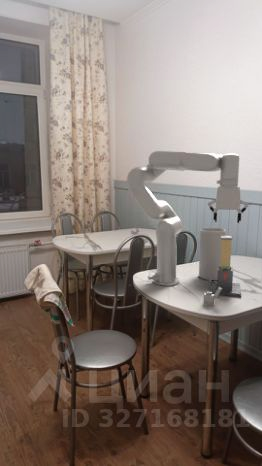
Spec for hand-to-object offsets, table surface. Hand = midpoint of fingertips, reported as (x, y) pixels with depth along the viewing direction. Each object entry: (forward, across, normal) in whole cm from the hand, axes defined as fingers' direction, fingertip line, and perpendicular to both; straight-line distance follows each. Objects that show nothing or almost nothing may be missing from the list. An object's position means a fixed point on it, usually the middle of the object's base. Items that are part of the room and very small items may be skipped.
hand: (226, 222), depth 149 cm
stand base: (+32, 0, 0) cm, 32 cm away
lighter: (+32, -4, -19) cm, 37 cm away
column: (+24, 0, 0) cm, 24 cm away
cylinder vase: (+32, -6, +19) cm, 38 cm away
